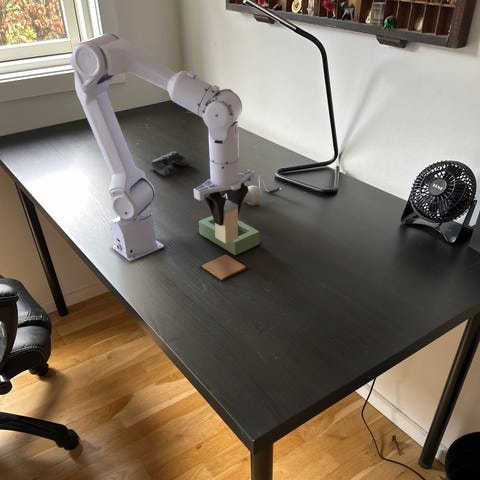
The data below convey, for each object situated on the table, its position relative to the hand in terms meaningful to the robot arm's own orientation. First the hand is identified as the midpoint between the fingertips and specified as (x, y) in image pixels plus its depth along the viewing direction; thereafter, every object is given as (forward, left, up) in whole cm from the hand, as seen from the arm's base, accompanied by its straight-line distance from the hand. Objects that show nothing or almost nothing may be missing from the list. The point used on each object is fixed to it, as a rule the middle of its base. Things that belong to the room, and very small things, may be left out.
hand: (226, 220), depth 105 cm
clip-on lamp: (+25, +21, -11) cm, 34 cm away
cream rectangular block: (0, 0, -4) cm, 4 cm away
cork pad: (-2, -1, -10) cm, 11 cm away
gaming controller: (+21, +53, -11) cm, 58 cm away
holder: (+7, +8, -10) cm, 15 cm away
